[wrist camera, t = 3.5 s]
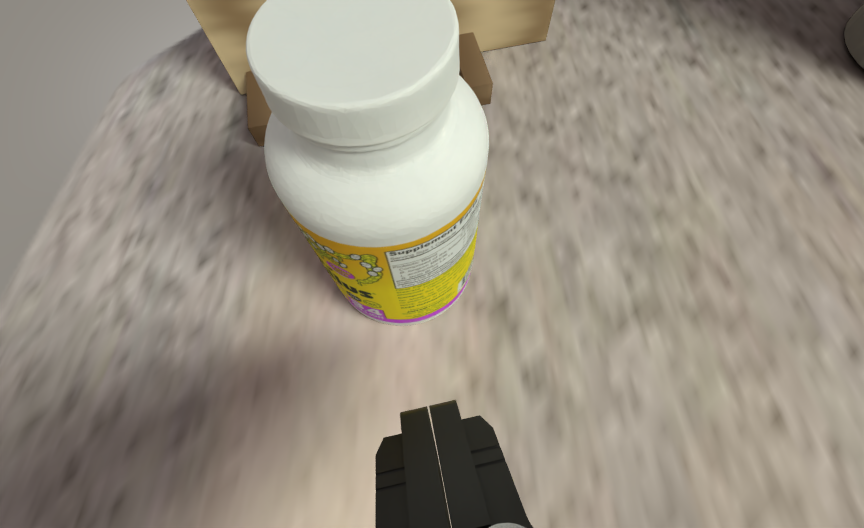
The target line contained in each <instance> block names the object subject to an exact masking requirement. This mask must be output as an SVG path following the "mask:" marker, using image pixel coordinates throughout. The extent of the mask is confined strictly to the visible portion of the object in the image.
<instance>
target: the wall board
mask: <svg viewBox="0 0 864 528" xmlns="http://www.w3.org/2000/svg"><path fill="white" fill-rule="evenodd" d="M186 1H187V2H188V4H189V6H190V7H191V9H192V11H193V13H194V14H195V16H196V18H197V20H198V21H199V23H200V25H201V27H202V28H203V30H204V32H205V33H206V35H207V37H208V39H209V40H210V42H211V44H212V46H213V47H214V49H215V51H216V52H217V54H218V56H219V58H220V59H221V61H222V63H223V65H224V66H225V68H226V70H227V71H228V73H229V75H230V77H231V78H232V80H233V82H234V84H235V85H236V87H237V89H238V90H239V92H240V94H241V95H242V94H247V116H248V129H249V131H250V132H251V134H252V136H253V137H254V139H255V141H256V142H257V144H258V145H259V146H264V142H265V133H266V128H267V124H268V121H269V118H270V116H271V113H272V111H271V110H270V108H269V106H268V104H267V102H266V100H265V97H264V95H263V93H262V91H261V89H260V87H259V85H258V83H257V81H256V79H255V77H254V75H253V73H252V71H251V69H250V66H249V63H248V60H247V55H246V38H247V33H248V29H249V26H250V24H251V21H252V19H253V18H254V16H255V14H256V13H257V11H258V10H259V8H260V7H261V6H262V5H263V4H264V3H265V2H266V1H267V0H186ZM450 1H451V2H452V4H453V6H454V8H455V11H456V15H457V19H458V23H459V61H460V71H459V75H460V76H461V77H462V78H463V79H464V81H465V82H466V83H467V84H468V85H469V86H470V88H471V89H472V90H473V92H474V93H475V95H476V96H477V98H478V100H479V102H480V104H481V105H485V104H490V102H491V94H492V85H493V83H492V80H491V77H490V75H489V72H488V69H487V67H486V64H485V62H484V59H483V56H482V54H481V52H483V51H488V50H494V49H500V48H505V47H511V46H516V45H522V44H528V43H533V42H539V41H544V40H546V37H547V32H548V28H549V24H550V20H551V16H552V12H553V8H554V3H555V0H450Z"/></svg>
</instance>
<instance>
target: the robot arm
mask: <svg viewBox="0 0 864 528" xmlns="http://www.w3.org/2000/svg"><path fill="white" fill-rule="evenodd" d="M844 34H845V43H846V45H847V47H848V49H849V52H850V54H851V55H852V56H853V58H854V59H855V60H856V61H857V63H858V64H859V65H860V66H861V67H862V68H863V69H864V4H863V5H862V6H861V7H860V8H859V9H858V10H857V12H856V13H855V14H854V15H853V16H852V17H851V18H850V20H849V21H848V22H847V24H846V28H845V32H844ZM429 407H430V413H431V418H432V423H433V429H434V434H435V439H436V445H437V450H438V455H439V460H438V455H437V451H436V446H435V441H434V437H433V432H432V427H431V422H430V418H429V413H428V409H427V407H422V408H418V409H414V410H409V411H405V412H401V413H400V418H401V430H402V434H398V435H393V436H389V437H385V438H383V441H382V443H381V445H380V447H379V449H378V451H377V454H376V528H451V525H452V528H533V527H532V525H531V524H530V522H529V520H528V518H527V516H526V513H525V511H524V508H523V506H522V503H521V500H520V498H519V495H518V492H517V490H516V487H515V485H514V482H513V479H512V477H511V474H510V471H509V469H508V466H507V464H506V462H505V458H504V456H503V453H502V450H501V448H500V446H499V443H498V440H497V437H496V435H495V432H494V429H493V427H492V426H490V425H489V424H488V423H487V422H486V421H485V420H484V419H483V418H482V417H481V416H480V415H479V416H475V417H471V418H466V419H462V420H461V416H460V413H459V409H458V406H457V402H456V400H453V401H448V402H444V403H439V404H435V405H431V406H429ZM439 461H440V465H439ZM440 466H441V471H442V476H441V471H440ZM442 477H443V481H442ZM443 482H444V487H445V492H444V487H443ZM445 493H446V498H447V503H446V498H445ZM447 504H448V508H447ZM448 509H449V514H450V519H449V514H448ZM450 520H451V525H450Z"/></svg>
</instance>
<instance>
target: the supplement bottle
mask: <svg viewBox="0 0 864 528" xmlns="http://www.w3.org/2000/svg"><path fill="white" fill-rule="evenodd" d="M246 55H247V60H248V63H249V66H250V69H251V71H252V73H253V75H254V77H255V79H256V81H257V83H258V85H259V87H260V89H261V91H262V93H263V95H264V97H265V100H266V102H267V104H268V106H269V108H270V110H271V111H272V113H271V116H270V118H269V121H268V124H267V128H266V133H265V142H264V155H265V163H266V168H267V172H268V176H269V178H270V181H271V184H272V186H273V188H274V190H275V192H276V194H277V195H278V197H279V198H280V200H281V202H282V203H283V205H284V207H285V208H286V209H287V211H288V212H289V214H290V215H291V217H292V218H293V220H294V221H295V223H296V224H297V225H298V227H299V228H300V230H301V231H302V233H303V234H304V236H305V237H306V239H307V241H308V242H309V244H310V245H311V247H312V248H313V250H314V251H315V253H316V254H317V256H318V257H319V259H320V261H321V262H322V264H323V265H324V266H325V268H326V269H327V271H328V273H329V274H330V276H331V277H332V279H333V280H334V282H335V283H336V285H337V286H338V287H339V289H340V290H341V292H342V293H343V294H344V296H345V297H346V298H347V300H348V301H349V302H350V303H351V304H352V305H353V306H354V307H355V308H356V309H357V310H358V311H359V312H361V313H362V314H363V315H365V316H367V317H369V318H371V319H373V320H375V321H377V322H380V323H384V324H388V325H396V326H408V325H415V324H420V323H424V322H427V321H429V320H432V319H434V318H436V317H437V316H439V315H441V314H442V313H443V312H445V311H446V310H448V309H449V308H450V307H451V306H452V305H453V304H454V303H455V302H456V301H457V300H458V298H459V297H460V296H461V294H462V293H463V291H464V289H465V287H466V285H467V283H468V280H469V277H470V273H471V269H472V264H473V257H474V249H475V243H476V236H477V228H478V221H479V213H480V206H481V199H482V192H483V186H484V179H485V173H486V167H487V159H488V150H489V132H488V126H487V121H486V117H485V114H484V111H483V109H482V107H481V104H480V102H479V100H478V98H477V96H476V95H475V93H474V92H473V90H472V89H471V88H470V86H469V85H468V84H467V83H466V82H465V81H464V79H463V78H462V77H461V76H460V75H459V71H460V61H459V23H458V19H457V15H456V11H455V8H454V6H453V4H452V2H451V1H450V0H267V1H266V2H265V3H264V4H263V5H262V6H261V7H260V8H259V10H258V11H257V13H256V14H255V16H254V18H253V19H252V21H251V24H250V26H249V29H248V33H247V38H246Z"/></svg>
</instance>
